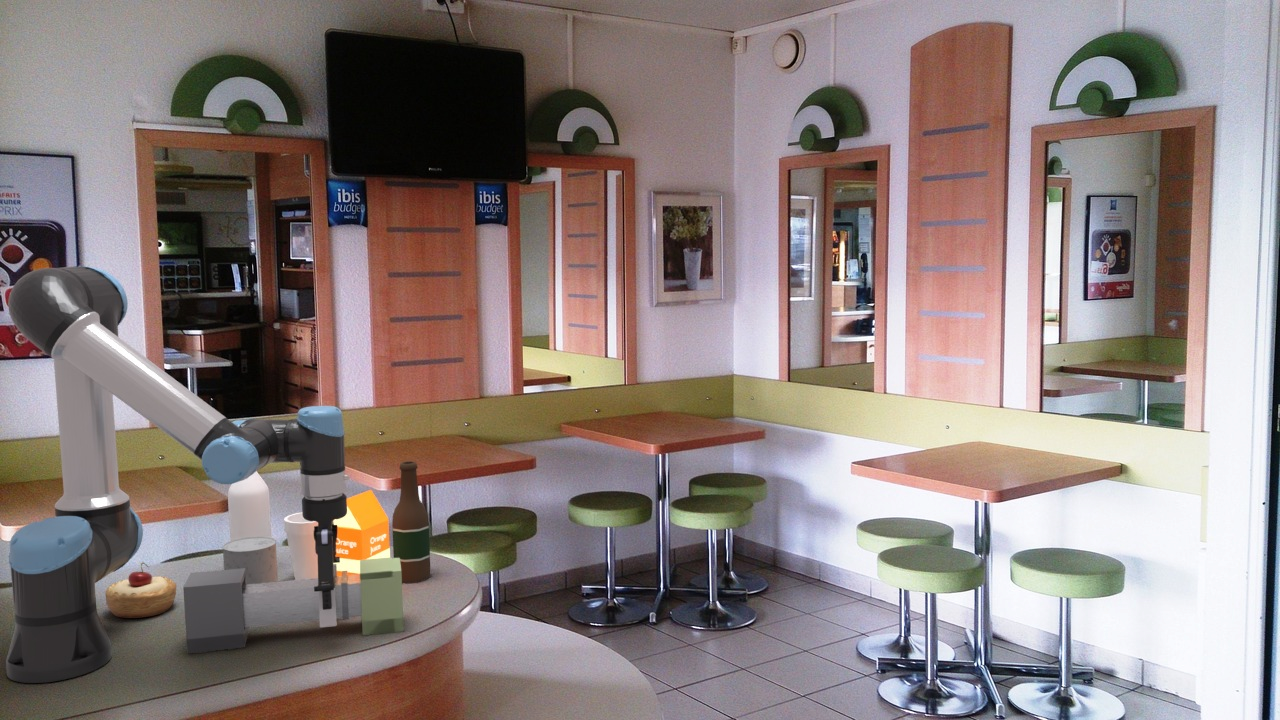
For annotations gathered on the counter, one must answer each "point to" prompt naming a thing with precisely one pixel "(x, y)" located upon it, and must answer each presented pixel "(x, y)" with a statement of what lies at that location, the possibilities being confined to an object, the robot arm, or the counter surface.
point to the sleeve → (214, 610)
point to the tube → (297, 600)
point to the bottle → (249, 508)
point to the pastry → (140, 595)
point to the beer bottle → (411, 529)
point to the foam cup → (301, 546)
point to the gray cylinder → (252, 558)
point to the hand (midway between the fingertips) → (329, 612)
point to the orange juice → (361, 533)
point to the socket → (381, 595)
